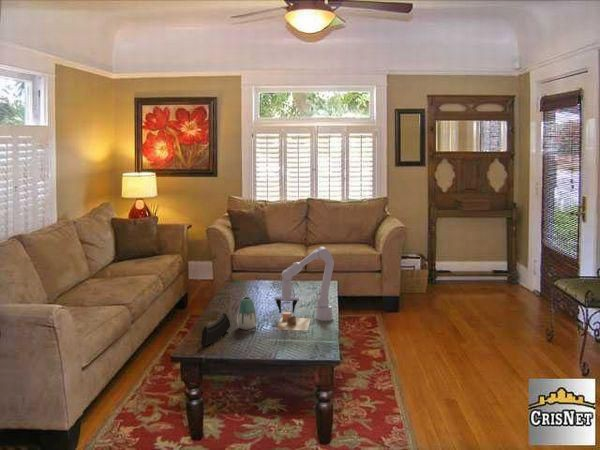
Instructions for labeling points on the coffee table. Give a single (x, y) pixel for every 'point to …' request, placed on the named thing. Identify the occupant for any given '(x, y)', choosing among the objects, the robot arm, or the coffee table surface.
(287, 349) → the coffee table surface
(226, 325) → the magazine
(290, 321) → the walnut block
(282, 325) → the birch board
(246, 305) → the vase
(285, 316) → the terracotta block
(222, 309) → the coffee table surface
